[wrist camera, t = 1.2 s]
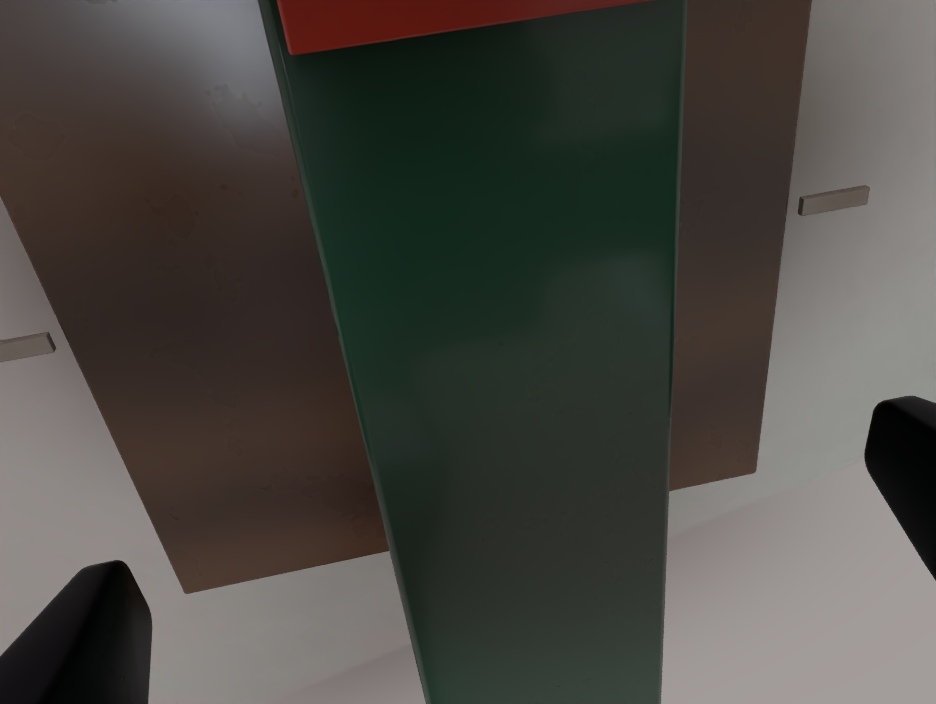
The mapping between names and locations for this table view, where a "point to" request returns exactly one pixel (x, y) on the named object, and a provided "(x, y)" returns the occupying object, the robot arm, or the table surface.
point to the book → (504, 317)
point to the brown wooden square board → (299, 269)
